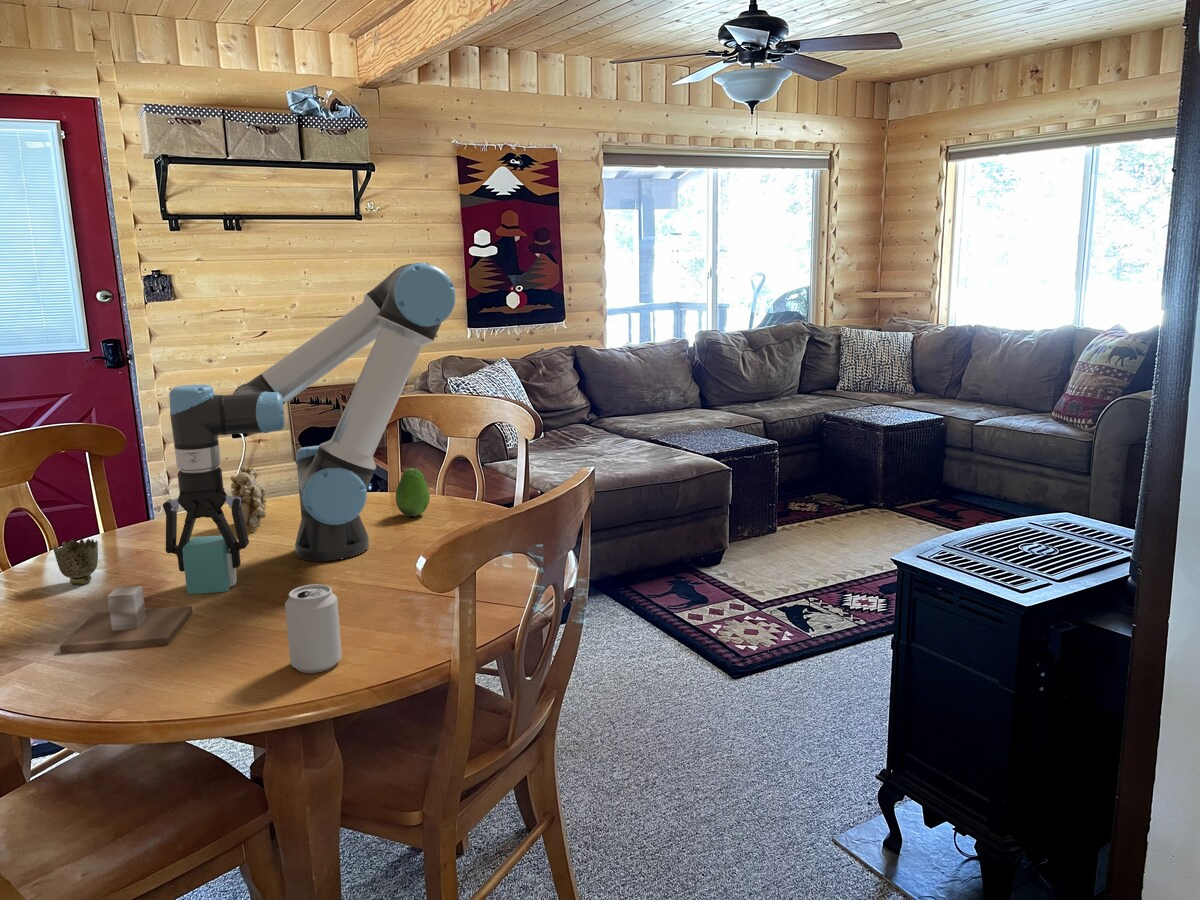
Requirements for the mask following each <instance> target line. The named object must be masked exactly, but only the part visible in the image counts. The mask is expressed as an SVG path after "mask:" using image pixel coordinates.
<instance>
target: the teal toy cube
mask: <svg viewBox="0 0 1200 900" xmlns="http://www.w3.org/2000/svg"><path fill="white" fill-rule="evenodd" d="M182 550H183V559H184V567H185V571H184V575H185V576H186V578H185V584H187V587H186V592H187V595H197V594H209V593H210V594H211V593H213V594H214V593H226V592H228V591H229V589H230V588H231V587H232V586H230V584H229V575H228V565H227V556H226V554H227V552H228V551H229V548H228V546H227V544H226V542H225V540H224V538H223V537H222V535H221V534H220V535H206V536H193V537H192V538H190V540H189V542H188V543H187V544H186V545H185V546H184V547H183V548H182Z"/></svg>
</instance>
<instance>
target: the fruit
mask: <svg viewBox="0 0 1200 900" xmlns="http://www.w3.org/2000/svg"><path fill="white" fill-rule="evenodd" d="M430 496H431V495H430V489H429V486H428V483H427V482H426V480H425V476H424V474H423V472H422V471H420V470H419V469H417V468H414V467H409V468H407V469H405V471H404V472H403V473H402V475H401V478H400V480H399V482H398V484H397V487H396V492H395V502H396V506H397V508H398V510H399V511H400V512H401V513H402V515H404V516H406V515H407V516H406V517H410V516H415V517H418V516H417V515H419V516H421V515H422V514H423V513H425V512H426V509H427V508H428V506H429V504H430V498H431V497H430Z"/></svg>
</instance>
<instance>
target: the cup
mask: <svg viewBox="0 0 1200 900" xmlns="http://www.w3.org/2000/svg"><path fill="white" fill-rule="evenodd" d="M98 543H99V541H98V540H97V539H96V540H94V539H93V538H92V539H90V538H87V539H86V540H84V539H83V538H81V539H80V540H79V541H77V540H76V539H71V540H69V542H66V541H63V542H62V543H61V544H62V545H61V546H59V547H58V545H54V547H52V549H53V553H54V556H55V559H56V560H55V561H56V564H57V566H58V569H59V571H60V573H61V574H62V575H63V576H64V577H65V578H69V583H70V584H71V585H72V586H76V585H78V586H83V585H87V584H89V583H90V582H91V581H92V579H93V578H92V574H93V573H94V572H95V571H96V569H97V567H98V563H99V545H98Z"/></svg>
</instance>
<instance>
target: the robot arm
mask: <svg viewBox="0 0 1200 900" xmlns="http://www.w3.org/2000/svg"><path fill="white" fill-rule="evenodd" d="M455 303H456V289H455V286H454V283H453V281H452V280H451V278H450V277H449V275H448V274H447V272H445V271H443V270H442V269H441V268H440V267H438V266H436V265H433V264H430V263H428V262H415V263H408V264H404V265H400V266H399V267H397V268H396V269H394V270H393V271H392V272H391V273H389V275H388V276H386V278H385V279H383V280H382V281H380V283H379V284H377V286H375V287H373V288H372V289H371V290H369V291H368V292H366V293H365V294H364V297H363V301H362V302H361V303H360V304H358V305H356V306H355V307H354V308H353V309H351V310H349V311H348V312H347V313H345V315H343V316H341V317H340V318H338V319H337V320H336V321H334V322H333V323H331V324H329V326H327V327H326V328H324V329H322V330H321V331H320V332H319V333H317V334H316V335H314V336H312V337H311V338H310V339H308V340H307V341H306V342H304V343H303V344H301V345H300V346H298V347H297V348H296V349H294V350H293V351H291V352H290V353H289V354H287V355H286V356H284V357H283V358H281V359H280V360H279V361H277V362H275V363H274V364H273V365H271V366H270V367H269V368H267V369H266V370H264V371H263V372H261V373H260V374H259V375H258V376H256V377H254V378H253V379H251V380H250V381H248V382H246V383H243V384H241V385H240V386H238V387H237V388H236V389H234V391H233V393H232V394H215V392H214V388H213V387H212V386H211V384H210V385H209V384H187V385H180V386H175V387H173V388H171V390H169V393H168V397H169V415H170V422H171V430H172V438H173V444H174V445H173V446H174V456H175V461H176V469H178V470H179V471H178V472H177V482H178V491H179V495H178V497H177V498H175V499H171V498H170V499H168V500H166V501H164V503H162V507H163V510H164V513H165V553H167V554H174V555H176V558H177V564H178V571H180V572H181V573H182V572H185V567H184V559H183V550H182V548H183V547H184V546H185V545H186V544H187V543H188V542H189V541H190V540H191V536H192V533H193V530H194V527H195V522H196V520H197V519H201V518H211V520H212V522H214V523H215V525H216V527H217V529H218V531H219V533H220V535H222V537H223V538H224V540H225V542H226V544H227V546H228V548H229V551H228V552H227V554H226V556H227V565H228V575H229V584H230V586H231V587H234V586H235V585H236V583H237V582H238V577H237V576H238V575H237V569H239V567H241V555H240V554H241V550H244V549H246V547H248V545H249V543H250V540H249V535H248V531H247V528H246V523H245V522H244V518H243V514H242V509H241V505H242V497H241V496H237V497H233V496H232V495H227V493H226V491H225V490H224V482H223V473H222V471H223V470H222V468H221V467H220V465H221V464H222V461H221V453H220V444H219V436H227V435H242V434H257V433H259V434H261V433H262V434H263V433H264V434H268V433H271V432H278V431H279V432H280V431H282V430H283V429H284V428H285V424H286V422H285V421H286V420H285V409H284V405H285V404H286V403H287V402H289V401H291V400H292V399H293V398H295V397H296V396H297V395H299V394H300V393H302V392H303V391H305V390H306V389H307V388H309V387H310V386H312V385H313V384H315V383H316V382H317V381H318V380H320V379H322V378H323V377H324V376H326V375H327V374H328V373H330V372H332V371H333V370H334V369H336V368H337V367H339V366H340V365H341V364H344V362H346V361H347V360H349V359H350V358H351V357H353V356H355V355H356V354H357V353H359V352H360V351H362V350H363V349H364V348H366V347H367V346H369V345H370V344H372V343H373V342H374V344H373V346H372V348H371V350H370V352H369V355H368V356H367V359H366V361H365V363H364V366H363V367H362V370H361V372H360V375H359V376H358V379H357V380H356V383H355V386H354V387H353V390H352V392H351V394H350V397H349V399H348V402H347V404H346V405H345V407H344V410H343V412H342V414H341V417H340V419H339V421H338V423H337V425H336V428H335V430H334V432H333V435H332V436H331V438H330V439H329V440H327V441H325V442H322V443H320V444H319V445H311V446H304V447H300V448H298V449H297V451H296V455H295V458H296V459H295V465H296V470H297V472H296V473H297V483H298V492H299V493H298V494H299V505H300V515H301V520H300V524H299V528H298V531H297V536H296V539H295V544H294V548H295V550H294V551H295V555H296V556H297V558H299V559H301V560H305V561H309V560H313V561H312V562H327V561H326V560H333V561H337V560H336V559H340V560H342V559H341V558H346V557H350V556H353V555H356V554H359V553H361V552H363V551H365V550H366V549H367V548H368V547H369V548H370V542H369V541H370V540H369V535H368V533H367V530H366V528H365V526H364V524H363V520H362V518H361V516H360V514H361V512H362V511H363V510H364V507H365V506H366V503H367V499H368V498H367V497H368V488H369V485H370V483H371V480H372V479H373V476H374V473H375V471H376V469H377V465H376V463H375V460H374V454H375V453H376V450H377V448H378V445H379V443H380V441H381V439H382V437H383V434H384V432H385V431H386V428H387V426H388V423H389V421H390V419H391V417H392V415H393V412H394V410H395V408H396V406H397V403H398V401H399V398H400V396H401V394H402V392H403V391H404V387H405V386H406V384H407V381H408V379H409V377H410V374H411V373H412V370H413V368H414V366H415V363H416V361H417V360H418V357H419V355H420V352H421V351H422V348H423V347H425V346H426V345H428V344H431V343H432V344H433V342H434V340H435V338H436V336H437V334H438V332H439V329H440V327H441V325H442V323H444V322H445V321H446V320H447V319H448V318H449V316H450V315H451V313H452V312H453V310H454V308H455V305H456V304H455ZM225 503H226V504H227V506H228V508H229V509H232V510H231V517H232V520H233V524H234V529H235V533H236V536H235V534H234V532H233V530H232V528H231V526H230V524H229V522H228V521H227V518H226V517H225V513H224V511H223V509H222V508H223V505H224V504H225ZM179 505H180V507H181V508H182V509H183V510H185V512H186V516H185V519H184V525H183V528H182V531H181V536H180V539H179V541H178V545H177V539H178V537H177V535H178V534H177V533H178V532H177V531H178V530H177V528H178V522H177V521H178V512H177V511H178V509H179ZM236 537H237V538H236ZM369 548H368V549H369ZM365 552H366V551H365ZM359 555H360V554H359ZM350 558H351V557H350ZM346 559H347V558H346ZM184 578H185V579H186V576H185V577H184ZM185 584H186V583H185ZM185 586H186V588H187V584H186V585H185Z"/></svg>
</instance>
